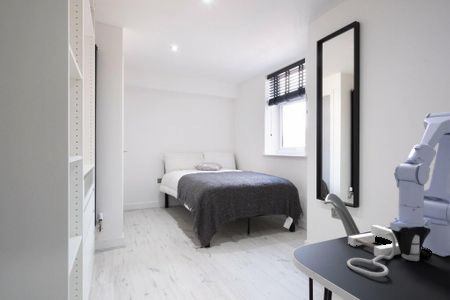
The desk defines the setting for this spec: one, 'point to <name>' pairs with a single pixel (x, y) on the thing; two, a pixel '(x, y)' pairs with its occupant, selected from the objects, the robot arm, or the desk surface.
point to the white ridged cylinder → (413, 250)
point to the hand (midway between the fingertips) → (410, 252)
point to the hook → (375, 261)
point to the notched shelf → (370, 238)
